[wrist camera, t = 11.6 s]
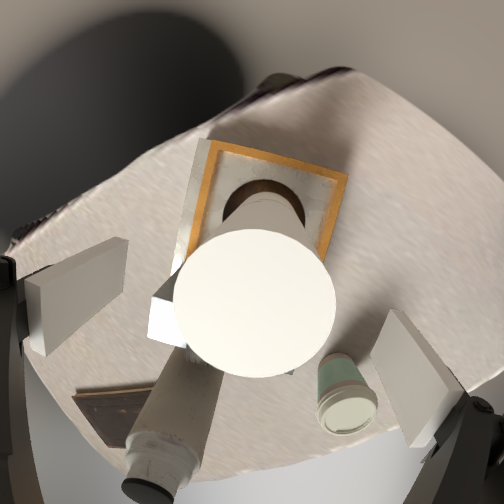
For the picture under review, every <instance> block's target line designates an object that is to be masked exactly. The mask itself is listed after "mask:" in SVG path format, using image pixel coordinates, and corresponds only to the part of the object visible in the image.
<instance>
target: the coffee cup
mask: <svg viewBox="0 0 504 504" xmlns="http://www.w3.org/2000/svg"><path fill="white" fill-rule="evenodd" d="M377 407H378V402H377V396H376V394H375V393H374V391H373V390H371V389H370V388H369V386H368V385H367V383H366V381H365V380H364V378H363V377H362V375H361V373H360V372H359V370H358V368H357V367H356V365H355V363H354V362H353V360H352V359H351V357H350V356H348V355H347V354H344V353H333V354H330V355H328V356H326V357H325V358H324V359H323V360H322V361H321V362H320V364H319V366H318V405H317V407H316V418H317V420H318V422H319V424H320V425H321V426H322V427H323V429H324V430H325V431H326V432H328V433H329V434H332V435H336V436H348V435H352V434H355V433H358V432H360V431H362V430H364V429H365V428H367V427H368V426H369V425H370V424H371V423H372V422H373V420H374V419H375V417H376V413H377Z"/></svg>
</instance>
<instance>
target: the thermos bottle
mask: <svg viewBox="0 0 504 504" xmlns="http://www.w3.org/2000/svg"><path fill="white" fill-rule="evenodd" d="M185 350H186V349H185V348H181V347H178V346H176V347H175V348H174V350H173V352H172V354H171V356H170V358H169V359H168V361H167V363H166V365H165V367H164V369H163V371H162V372H161V374H160V376H159V378H158V380H157V382H156V384H155V385H154V387H153V389H152V391H151V393H150V395H149V397H148V399H147V400H146V402H145V404H144V406H143V408H142V410H141V412H140V414H139V416H138V418H137V419H136V421H135V423H134V425H133V427H132V429H131V431H130V433H129V435H128V437H127V439H126V448H127V451H126V453H125V465H126V467H127V469H128V470H129V472H128V474H127V477H126V479H125V480H124V481H123V483H122V486H121V488H122V491H123V492H124V493H125V494H126V495H127V496H128V497H129V498H130V499H132V500H133V501H135V502H137V503H139V504H173V502H174V497H175V495H176V492H177V490H179V489H182V488H185V487H186V486H187V485H188V483H189V481H190V480H191V478H192V475H195V474H196V473H197V472H198V471H199V469H200V467H201V463H202V459H203V455H204V449H205V445H206V441H207V437H208V434H209V431H210V427H211V423H212V419H213V415H214V411H215V407H216V403H217V399H218V395H219V391H220V387H221V383H222V379H223V375H224V371H222V370H218V369H214V368H211V367H207V366H203V365H200V364H196V363H193V362H189V361H186V360H185V359H184V358H185Z"/></svg>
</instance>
